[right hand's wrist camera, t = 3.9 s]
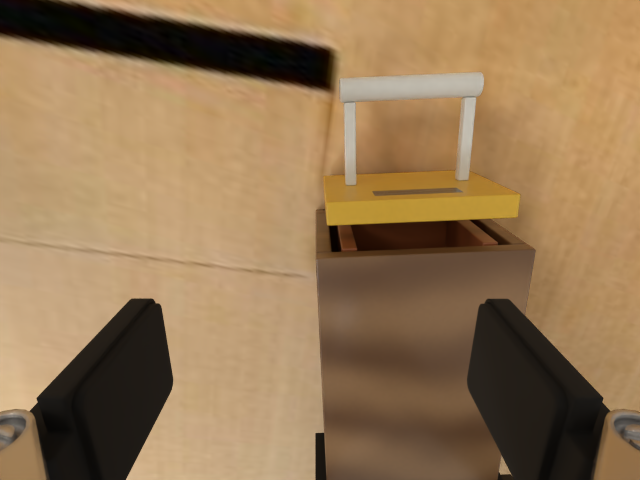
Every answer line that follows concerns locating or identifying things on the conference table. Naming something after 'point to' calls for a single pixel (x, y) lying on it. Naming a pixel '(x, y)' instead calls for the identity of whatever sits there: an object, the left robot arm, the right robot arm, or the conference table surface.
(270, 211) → the conference table surface
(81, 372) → the right robot arm
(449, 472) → the cabinet
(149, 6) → the conference table surface
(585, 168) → the conference table surface
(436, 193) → the drawer
